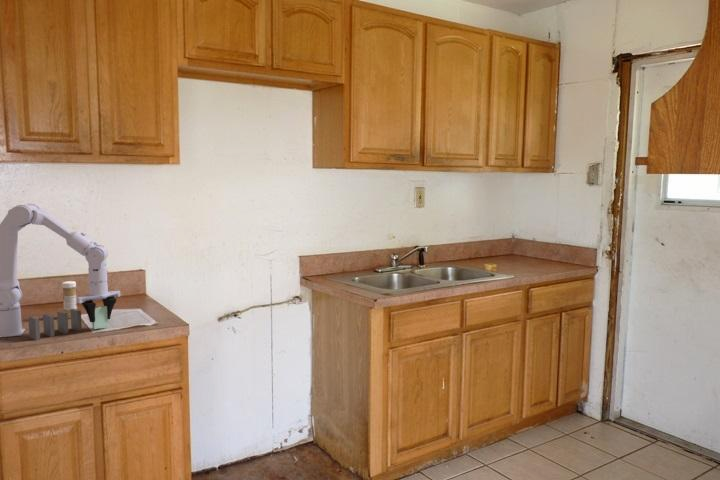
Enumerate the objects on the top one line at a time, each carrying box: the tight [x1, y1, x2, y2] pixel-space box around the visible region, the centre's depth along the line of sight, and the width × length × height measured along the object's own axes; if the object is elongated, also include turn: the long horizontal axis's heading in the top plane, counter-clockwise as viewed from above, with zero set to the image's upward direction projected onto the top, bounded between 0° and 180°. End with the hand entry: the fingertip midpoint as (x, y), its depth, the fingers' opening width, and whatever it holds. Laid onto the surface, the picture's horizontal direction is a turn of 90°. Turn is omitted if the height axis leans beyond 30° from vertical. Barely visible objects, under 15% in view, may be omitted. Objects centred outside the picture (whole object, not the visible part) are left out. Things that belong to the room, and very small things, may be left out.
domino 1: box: [27, 315, 41, 341], centre depth 180 cm, size 1×5×7 cm, turn 53°
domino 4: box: [70, 308, 83, 332], centre depth 191 cm, size 1×5×7 cm, turn 53°
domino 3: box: [56, 310, 69, 335], centre depth 187 cm, size 1×5×7 cm, turn 54°
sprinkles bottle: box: [61, 280, 78, 319], centre depth 208 cm, size 5×5×14 cm
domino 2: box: [42, 313, 56, 338], centre depth 184 cm, size 1×5×7 cm, turn 54°
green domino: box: [91, 305, 109, 330], centre depth 191 cm, size 1×5×7 cm, turn 144°
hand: (100, 320), depth 191 cm, fingers closed on green domino, 5 cm apart
